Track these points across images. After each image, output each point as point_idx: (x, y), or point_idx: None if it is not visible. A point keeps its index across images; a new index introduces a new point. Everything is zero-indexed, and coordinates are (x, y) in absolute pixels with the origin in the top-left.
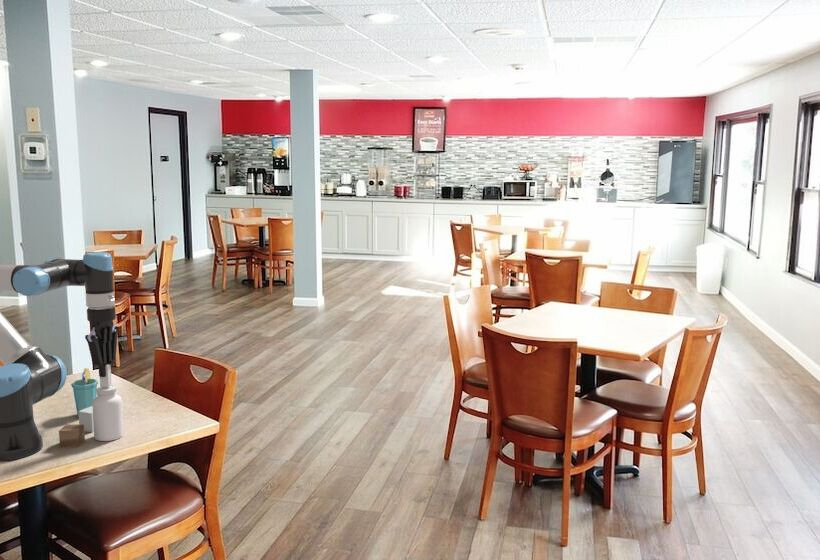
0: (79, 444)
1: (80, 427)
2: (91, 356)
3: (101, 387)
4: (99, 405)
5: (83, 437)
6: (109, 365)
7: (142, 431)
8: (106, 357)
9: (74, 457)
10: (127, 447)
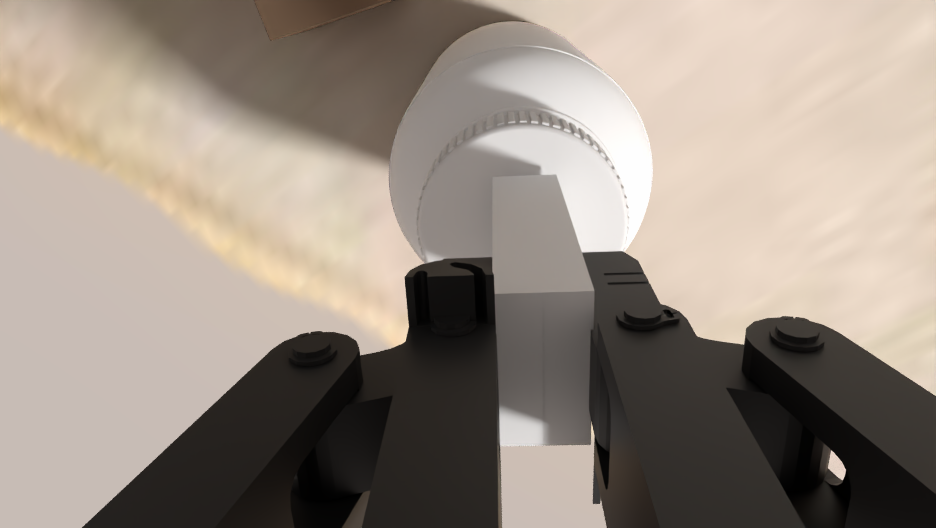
0: (324, 24)
1: (335, 17)
2: (146, 481)
3: (519, 168)
4: (391, 192)
5: (389, 1)
6: (558, 440)
7: (640, 256)
8: (609, 474)
9: (171, 123)
10: (395, 314)
